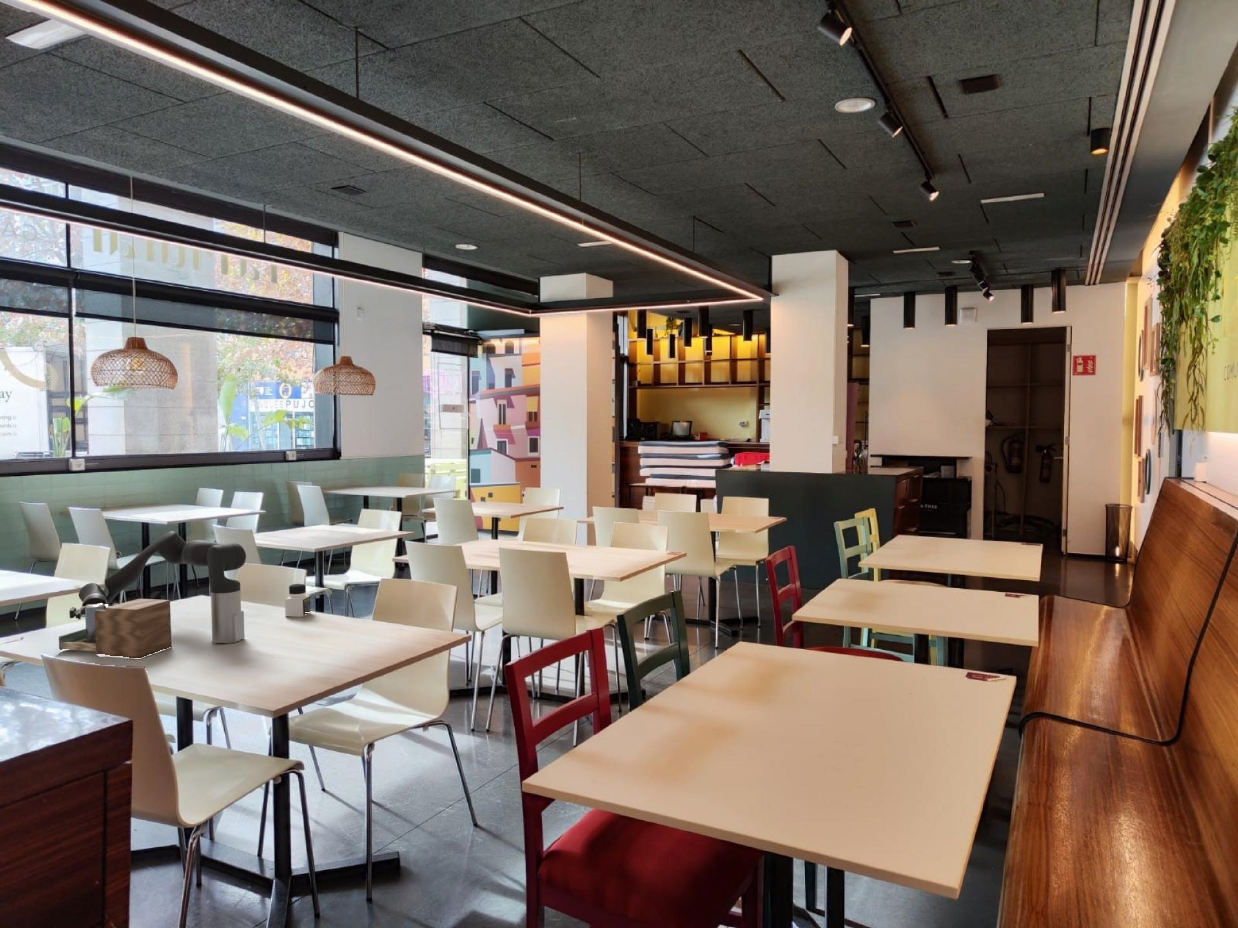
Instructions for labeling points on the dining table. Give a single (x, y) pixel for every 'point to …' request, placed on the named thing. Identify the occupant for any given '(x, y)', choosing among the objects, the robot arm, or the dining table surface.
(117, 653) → the walnut box
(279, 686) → the dining table surface
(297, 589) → the medicine bottle
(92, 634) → the can
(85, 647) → the wooden drawer
